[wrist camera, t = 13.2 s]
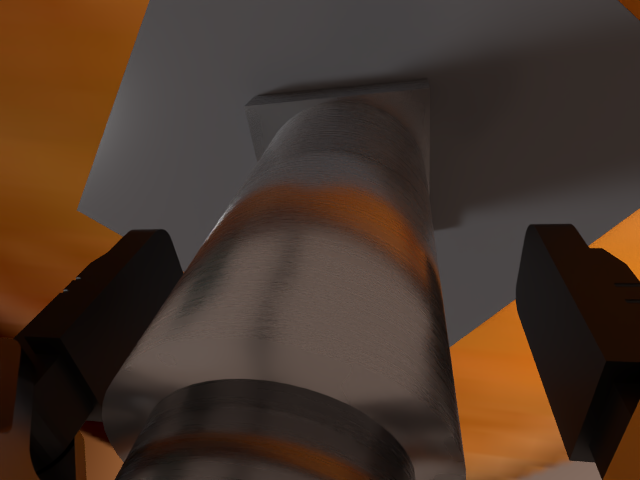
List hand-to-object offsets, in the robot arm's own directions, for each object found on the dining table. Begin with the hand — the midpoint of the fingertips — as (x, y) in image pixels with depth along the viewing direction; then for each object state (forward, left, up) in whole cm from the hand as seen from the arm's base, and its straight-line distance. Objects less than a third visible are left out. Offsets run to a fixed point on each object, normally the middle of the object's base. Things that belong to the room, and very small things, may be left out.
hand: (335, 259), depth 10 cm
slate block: (0, 0, -9) cm, 9 cm away
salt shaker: (0, 0, -5) cm, 5 cm away
